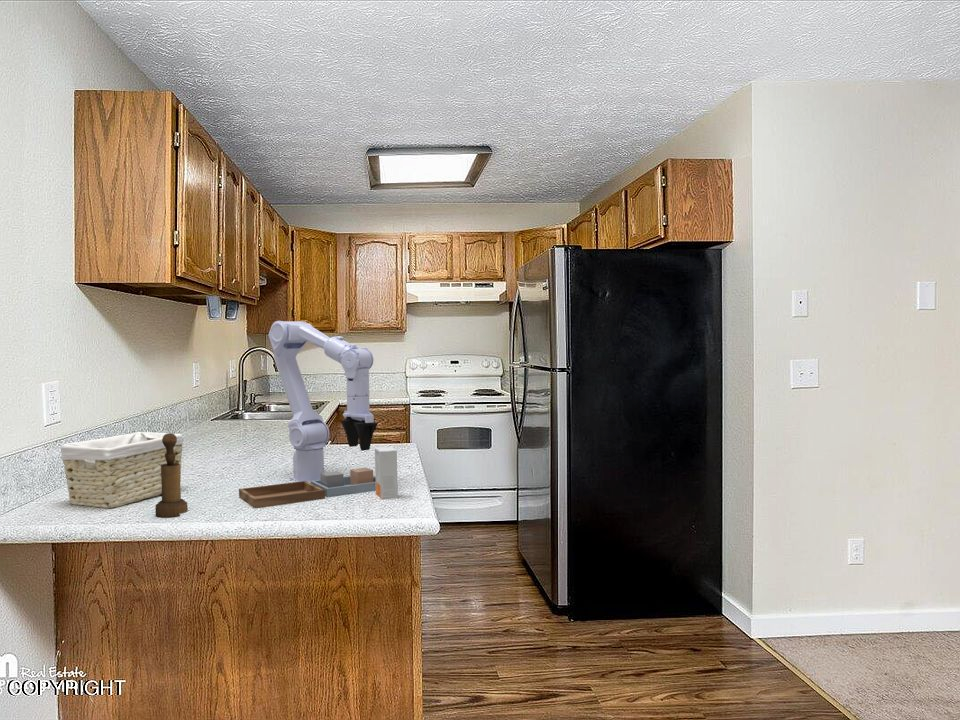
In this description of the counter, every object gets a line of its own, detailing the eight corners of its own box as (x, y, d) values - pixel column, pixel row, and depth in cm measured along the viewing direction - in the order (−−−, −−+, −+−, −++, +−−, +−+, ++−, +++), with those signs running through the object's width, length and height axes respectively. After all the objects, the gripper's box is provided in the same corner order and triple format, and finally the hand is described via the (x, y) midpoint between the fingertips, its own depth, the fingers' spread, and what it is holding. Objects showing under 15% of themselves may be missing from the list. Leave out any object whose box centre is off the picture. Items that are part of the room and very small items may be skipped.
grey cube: (320, 490, 182) (320, 473, 182) (337, 488, 184) (337, 471, 184) (326, 493, 178) (326, 476, 178) (343, 491, 180) (343, 473, 180)
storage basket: (108, 511, 166) (106, 447, 165) (58, 505, 172) (56, 443, 171) (187, 490, 188) (186, 433, 187) (141, 485, 194) (139, 430, 193)
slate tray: (310, 490, 184) (310, 480, 184) (367, 483, 192) (367, 473, 192) (327, 499, 174) (326, 488, 174) (386, 490, 183) (386, 481, 183)
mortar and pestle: (192, 510, 165) (189, 431, 165) (181, 517, 159) (178, 435, 158) (162, 510, 165) (160, 432, 164) (150, 518, 158) (148, 436, 158)
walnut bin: (239, 499, 175) (238, 489, 175) (305, 490, 184) (305, 480, 184) (254, 510, 164) (254, 499, 164) (325, 500, 173) (324, 490, 173)
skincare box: (375, 496, 177) (374, 447, 176) (392, 494, 178) (391, 446, 178) (380, 501, 171) (379, 451, 171) (398, 499, 173) (397, 449, 172)
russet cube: (350, 486, 186) (350, 469, 186) (366, 484, 188) (365, 467, 188) (357, 489, 182) (357, 472, 182) (373, 487, 185) (373, 470, 185)
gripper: (332, 394, 190) (333, 446, 191) (354, 398, 178) (355, 453, 179) (358, 393, 194) (359, 443, 195) (380, 396, 182) (381, 450, 182)
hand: (359, 448), depth 187 cm, fingers open, 7 cm apart
